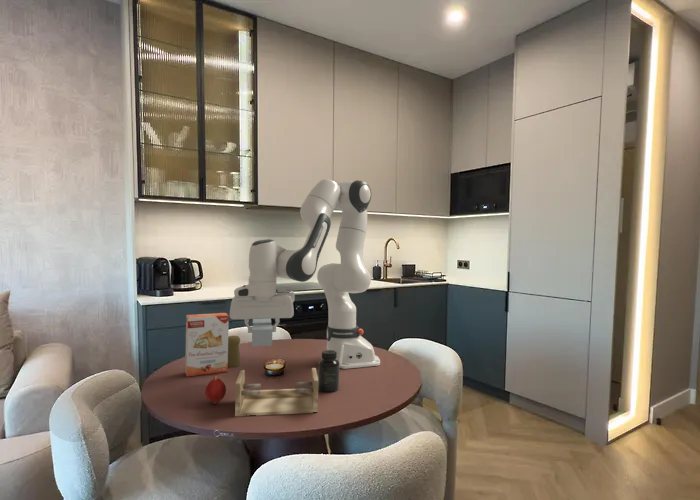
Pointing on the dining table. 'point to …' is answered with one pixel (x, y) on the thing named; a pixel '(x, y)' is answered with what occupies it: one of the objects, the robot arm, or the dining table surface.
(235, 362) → the olive double rounded piece
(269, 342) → the light grey rectangular block
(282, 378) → the dining table surface
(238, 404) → the tray
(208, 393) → the red round piece
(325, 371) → the supplement bottle
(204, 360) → the cracker box
